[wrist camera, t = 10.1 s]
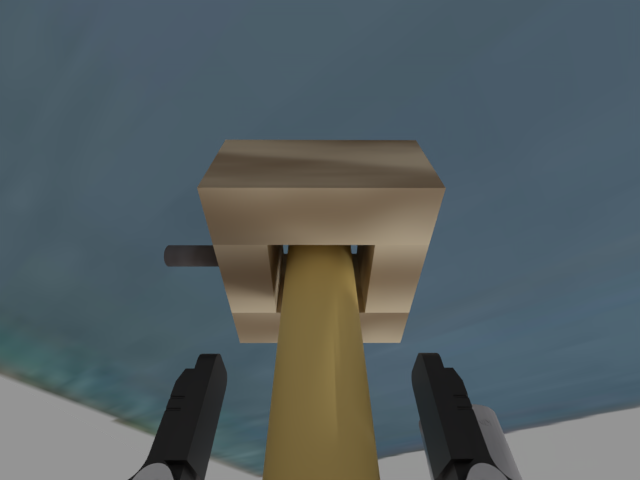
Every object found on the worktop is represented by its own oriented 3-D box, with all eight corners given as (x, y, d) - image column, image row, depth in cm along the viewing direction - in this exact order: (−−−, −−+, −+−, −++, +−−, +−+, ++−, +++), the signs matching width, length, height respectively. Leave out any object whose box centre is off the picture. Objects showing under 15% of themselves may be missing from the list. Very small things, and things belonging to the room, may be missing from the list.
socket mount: (386, 283, 23) (400, 342, 20) (206, 283, 23) (183, 343, 20) (415, 140, 17) (445, 188, 13) (158, 139, 16) (109, 187, 13)
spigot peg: (346, 245, 21) (375, 521, 10) (292, 245, 21) (266, 522, 10) (349, 199, 19) (392, 493, 8) (289, 199, 19) (251, 494, 8)
